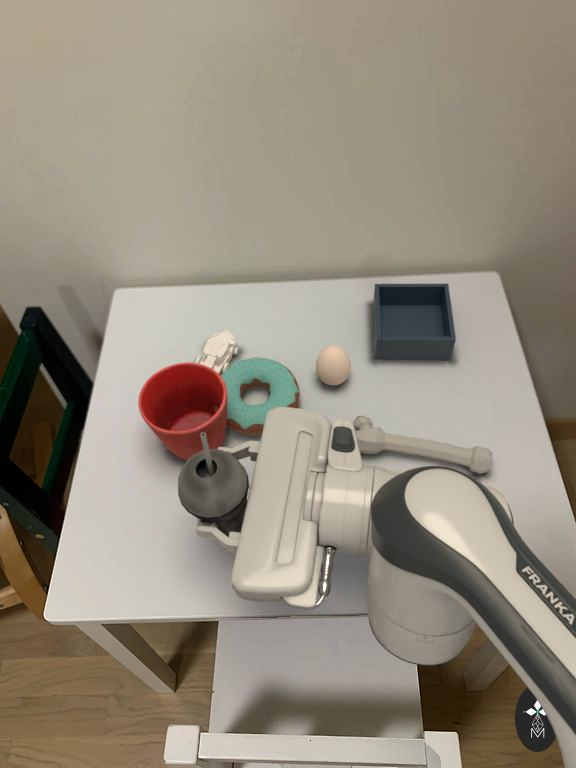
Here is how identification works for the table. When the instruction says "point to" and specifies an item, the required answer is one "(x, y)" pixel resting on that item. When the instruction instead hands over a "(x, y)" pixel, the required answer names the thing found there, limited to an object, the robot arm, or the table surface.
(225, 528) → the beverage cup
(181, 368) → the flower pot
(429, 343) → the freezer basket
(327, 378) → the egg
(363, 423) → the bone
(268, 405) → the donut
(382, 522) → the robot arm
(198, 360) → the toy car
